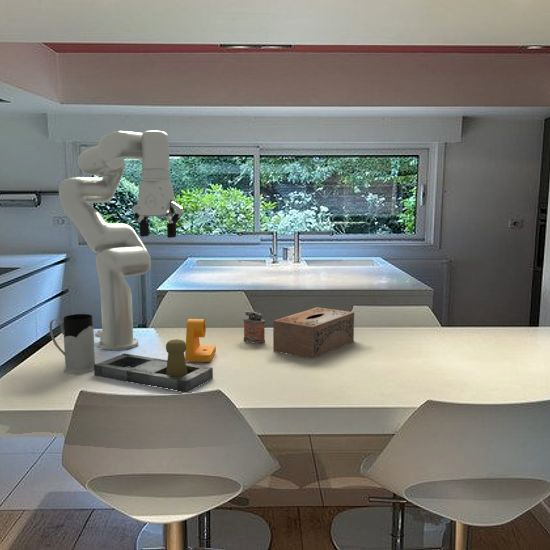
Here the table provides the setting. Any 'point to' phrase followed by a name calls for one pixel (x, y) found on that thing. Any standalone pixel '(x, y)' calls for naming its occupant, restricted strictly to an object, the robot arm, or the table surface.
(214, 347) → the bracket
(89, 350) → the grey mug
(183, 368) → the olive tall tapered piece
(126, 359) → the tray
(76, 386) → the table surface
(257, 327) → the lighter
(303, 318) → the tissue box cover
